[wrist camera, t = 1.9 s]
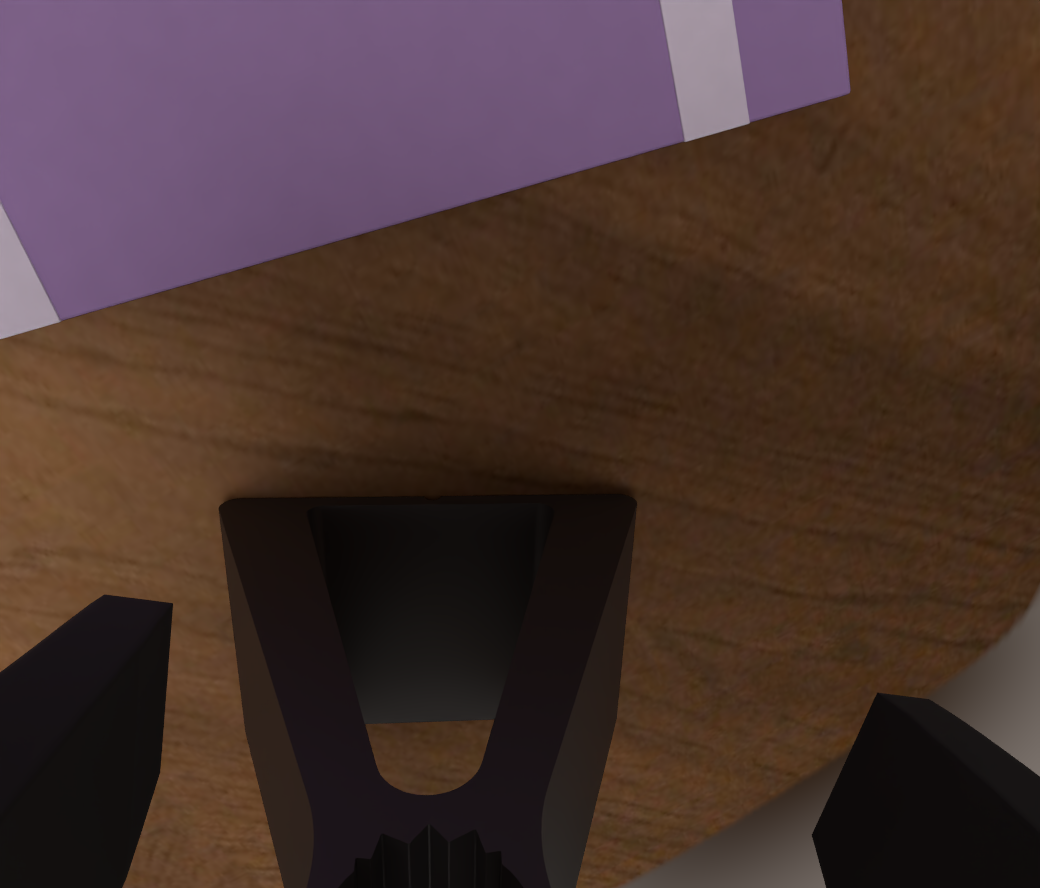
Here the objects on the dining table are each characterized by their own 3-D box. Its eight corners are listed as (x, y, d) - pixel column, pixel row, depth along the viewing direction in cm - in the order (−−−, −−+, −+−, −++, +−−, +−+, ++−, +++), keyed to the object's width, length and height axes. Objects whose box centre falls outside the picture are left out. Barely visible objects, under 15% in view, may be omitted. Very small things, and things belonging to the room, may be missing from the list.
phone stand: (635, 494, 20) (880, 1037, 9) (613, 707, 22) (785, 1341, 11) (222, 496, 19) (-72, 1100, 8) (247, 716, 21) (46, 1413, 10)
